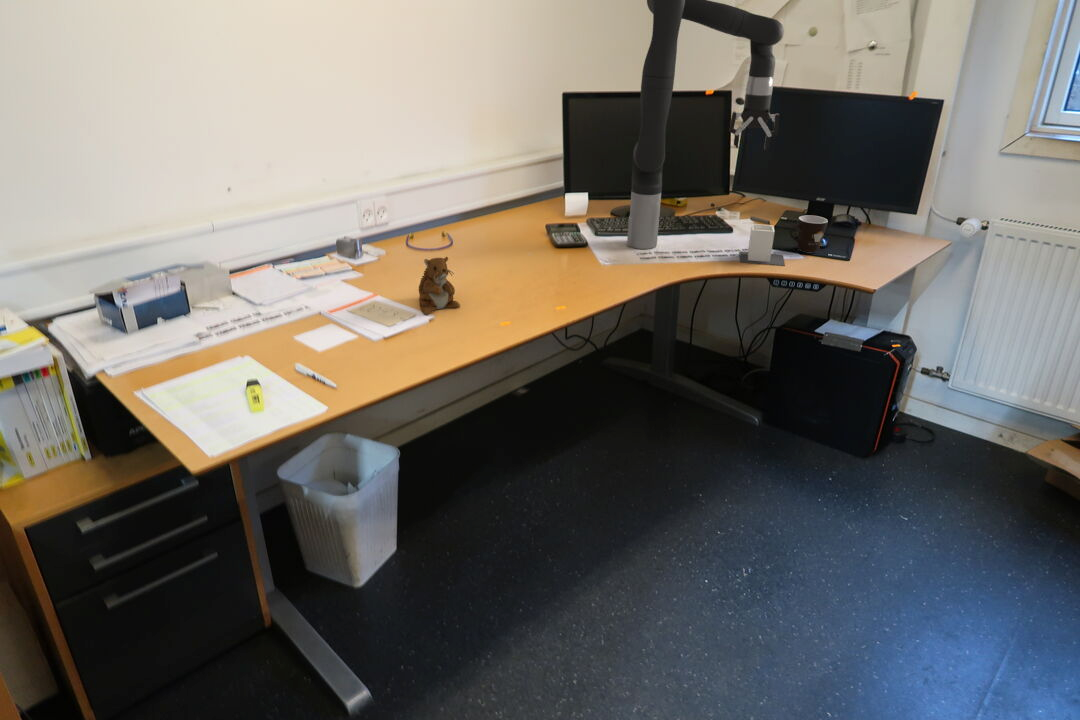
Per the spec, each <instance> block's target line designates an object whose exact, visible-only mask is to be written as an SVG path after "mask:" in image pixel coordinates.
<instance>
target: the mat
mask: <svg viewBox="0 0 1080 720" xmlns="http://www.w3.org/2000/svg"><path fill="white" fill-rule="evenodd" d="M739 260H740V261H739V262H740V263H744V264H745V263H746V264H755V263H756V264H757V265H767V264H769V265H770V266H771V265H772V266H779V265H780V267H781V266H782V267H785V266H786V264H785V257H784V254H780V253H779V254H777V253H771V257H770V262H763V261H751V260H748V251H743V250H740V251H739Z"/></svg>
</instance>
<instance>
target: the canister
mask: <svg viewBox="0 0 1080 720" xmlns="http://www.w3.org/2000/svg"><path fill="white" fill-rule="evenodd" d="M749 234H750V235H749V241H748V247H747V252H748V260H751V261H763V262H770V257H771V254H772V251H773V244H774V239H775V238H774V237H775V226H774V225H773V224H772V225H771V224H759V223H751V228H750V233H749Z"/></svg>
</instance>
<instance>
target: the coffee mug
mask: <svg viewBox="0 0 1080 720" xmlns="http://www.w3.org/2000/svg"><path fill="white" fill-rule="evenodd" d="M828 223H829V221H828V219H827V218H825V217H822V216H818V215H807V214H806V215H801V216H799V217H798V224H795V225H792V226H791V227H790V229H789V235H790V237H791V238H792V239H793V240H794V241H795V242H797V245H796V249H797V248H798V249H799V250H802V251H805V252H815V251H818V250H819V251H820V248H821V244H822V242H823V241H822V240H823V238H824V235H825V232H826V229H827V225H828ZM794 228H797V229H798V230H797V238H796V237H795V236H793V232H792V231H793V229H794ZM819 251H818V252H819Z"/></svg>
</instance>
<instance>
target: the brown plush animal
mask: <svg viewBox="0 0 1080 720" xmlns="http://www.w3.org/2000/svg"><path fill="white" fill-rule="evenodd" d="M448 261H449V257H448V256H446V257H444V258H443V257H434V258H431V259H427V258H425V259H424V260H423V263H424V265H425V266H426V268H424V269H425V270H424V271H423V275H421V278H420V282H419V285H418V295H419V296H418V298H419V299H418V303H419V308H420V310H421V312H422V313H423V314H424V315H425V314H429V315H430V314H432V313H433V312H434V311H435V310H442V309H444V308H447V309H459V308H460V307H461V305H460V303H459V301H457V300H454V299H455V298H454V295H455V292H456V289H455V286H454V285H453V284H452V282H451V281H450V280H448V279H447V277H448V276H449V274H450V275H451V277H453V275H455V273H454V272H453V271H451V270H450V269H448V265H447V262H448Z"/></svg>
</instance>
